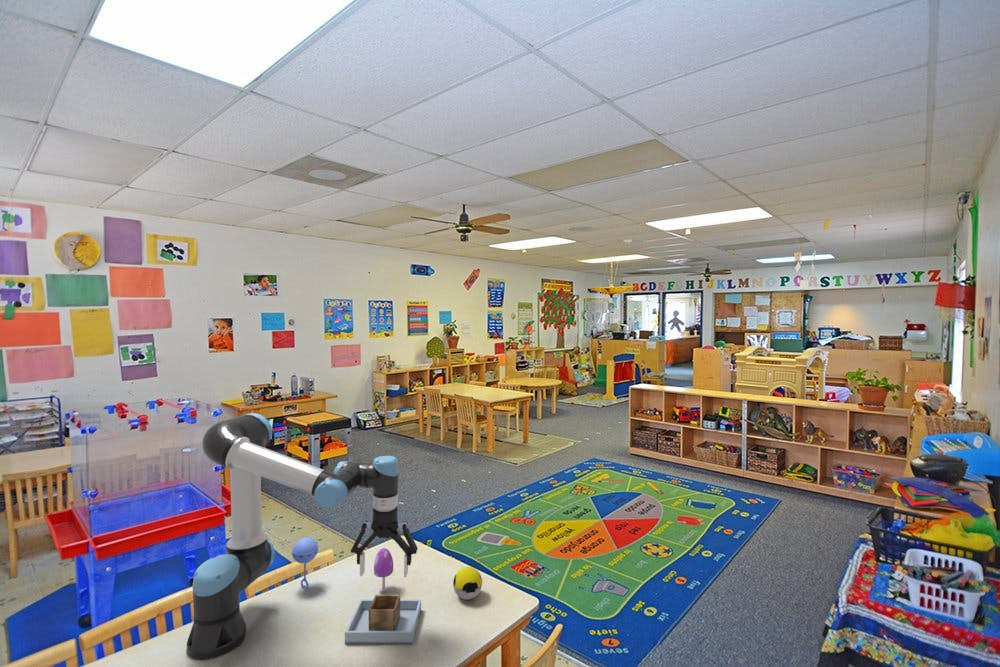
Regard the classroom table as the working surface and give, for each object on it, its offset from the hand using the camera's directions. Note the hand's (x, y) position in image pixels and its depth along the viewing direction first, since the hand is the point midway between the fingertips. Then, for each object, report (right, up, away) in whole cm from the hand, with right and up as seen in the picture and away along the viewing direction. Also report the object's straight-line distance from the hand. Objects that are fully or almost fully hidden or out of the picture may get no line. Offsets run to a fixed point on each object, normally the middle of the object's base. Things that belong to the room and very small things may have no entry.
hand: (384, 574), depth 144 cm
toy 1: (-5, -16, +19) cm, 26 cm away
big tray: (0, -16, 0) cm, 16 cm away
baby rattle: (-33, -16, +20) cm, 42 cm away
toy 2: (+25, -16, +16) cm, 34 cm away
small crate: (0, -16, 0) cm, 16 cm away
